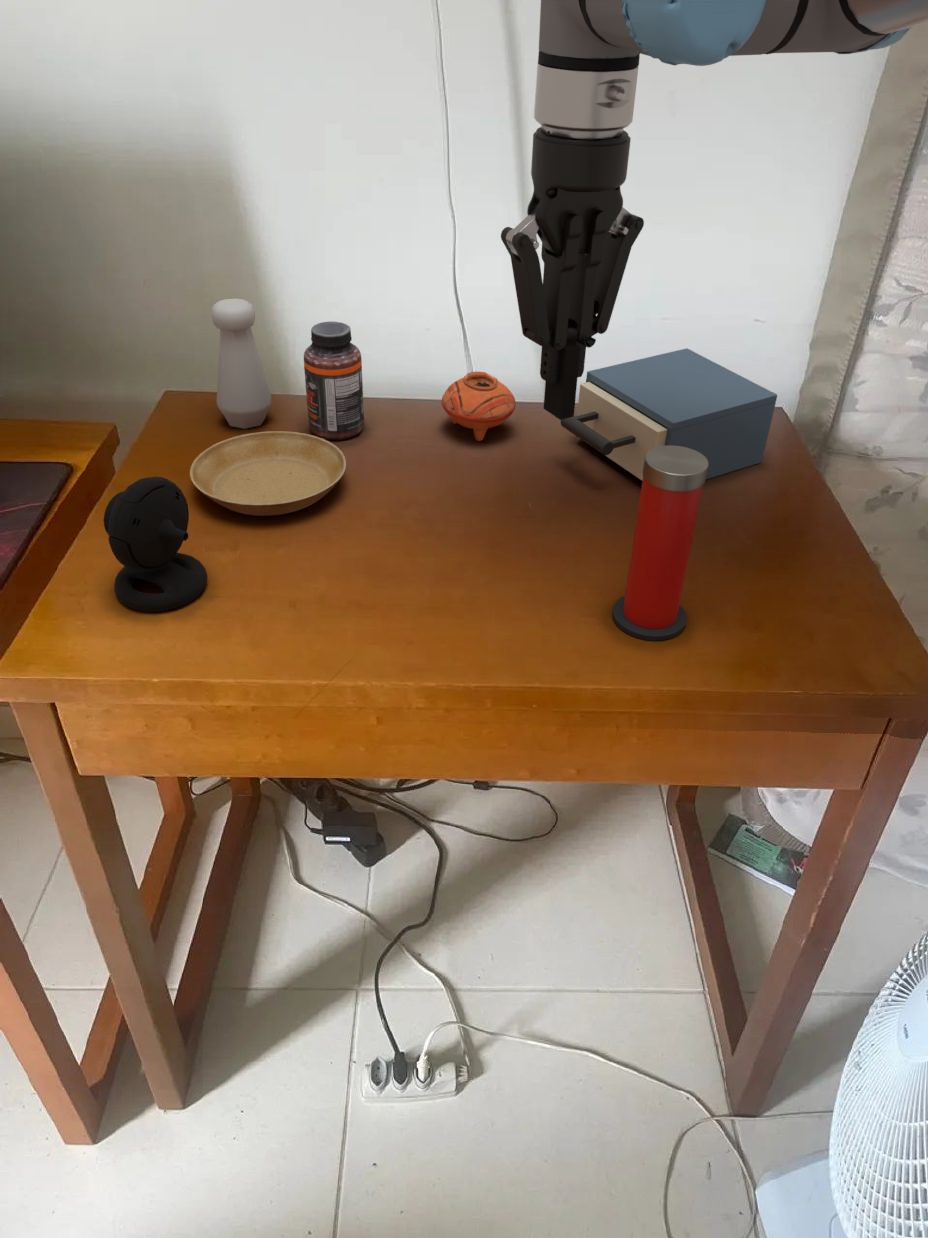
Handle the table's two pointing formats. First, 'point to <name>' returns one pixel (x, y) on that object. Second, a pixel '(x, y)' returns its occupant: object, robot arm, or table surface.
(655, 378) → the cabinet
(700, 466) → the disc
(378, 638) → the table surface
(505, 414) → the pot
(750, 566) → the table surface
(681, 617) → the coaster
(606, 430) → the drawer
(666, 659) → the table surface
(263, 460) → the plant saucer
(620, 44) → the robot arm
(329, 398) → the supplement bottle
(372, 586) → the table surface
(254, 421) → the salt shaker
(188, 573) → the webcam
